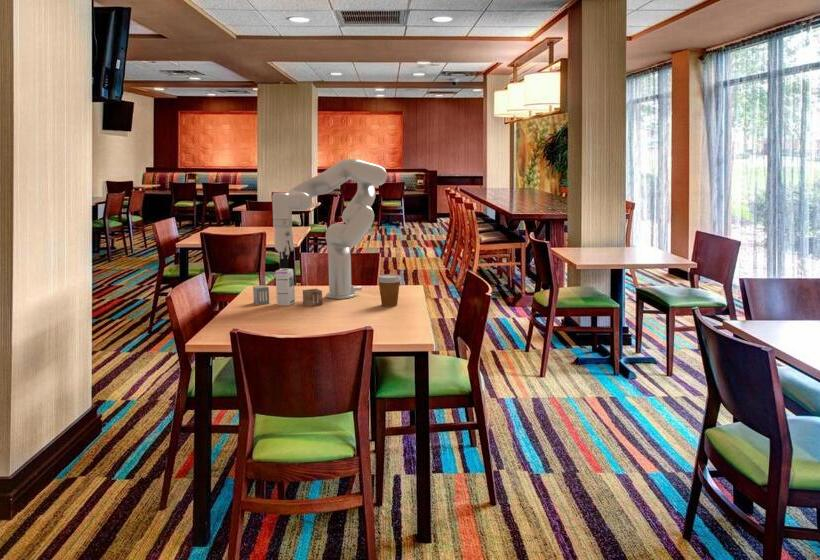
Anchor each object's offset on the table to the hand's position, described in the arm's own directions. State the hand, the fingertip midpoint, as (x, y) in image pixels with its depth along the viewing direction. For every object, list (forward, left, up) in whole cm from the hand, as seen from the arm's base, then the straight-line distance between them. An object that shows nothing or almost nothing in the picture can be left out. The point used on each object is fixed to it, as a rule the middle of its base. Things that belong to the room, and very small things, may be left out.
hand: (284, 268), depth 295 cm
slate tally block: (+8, -7, -15) cm, 18 cm away
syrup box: (0, 0, -15) cm, 15 cm away
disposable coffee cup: (-35, +25, -15) cm, 46 cm away
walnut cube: (-9, +7, -15) cm, 19 cm away
